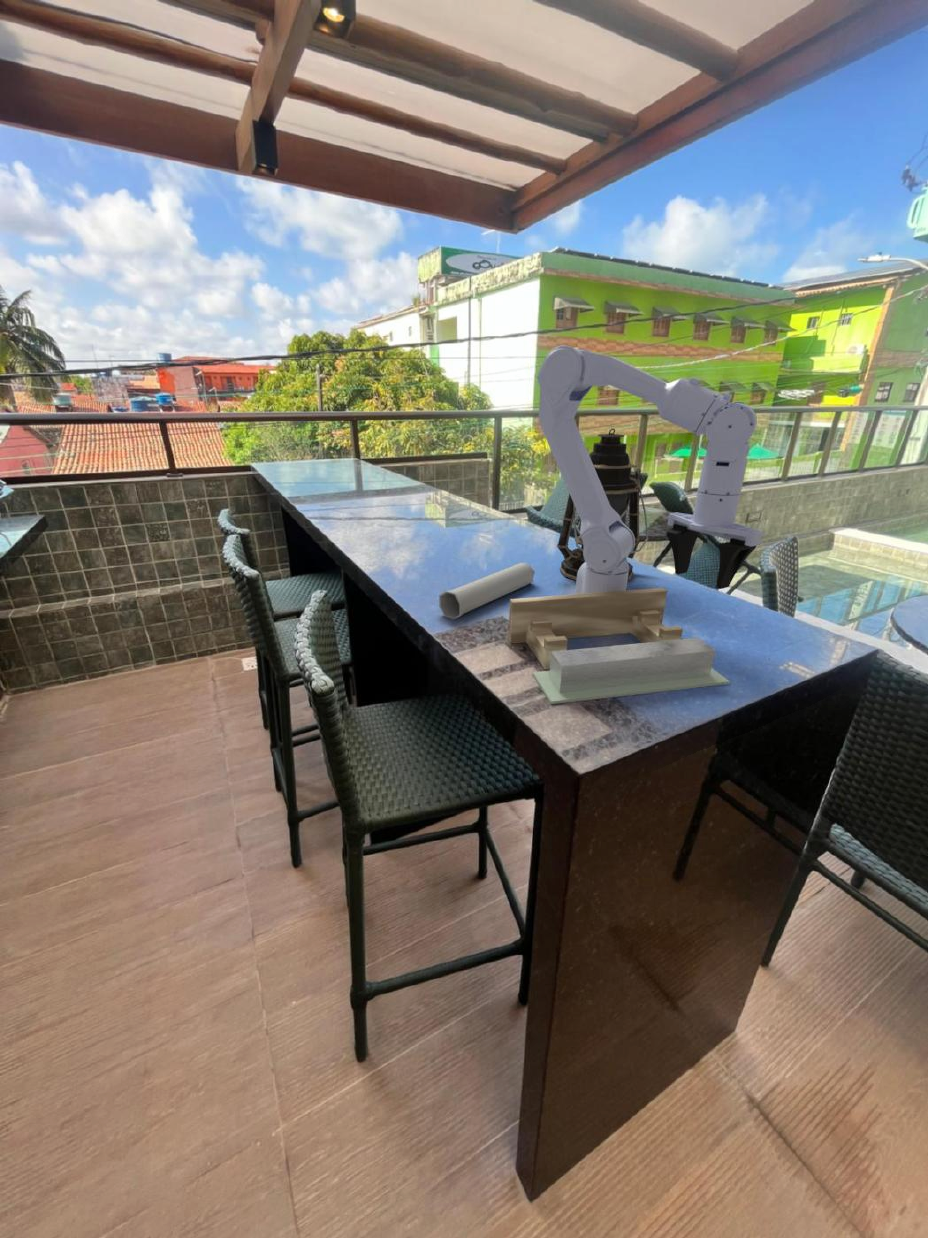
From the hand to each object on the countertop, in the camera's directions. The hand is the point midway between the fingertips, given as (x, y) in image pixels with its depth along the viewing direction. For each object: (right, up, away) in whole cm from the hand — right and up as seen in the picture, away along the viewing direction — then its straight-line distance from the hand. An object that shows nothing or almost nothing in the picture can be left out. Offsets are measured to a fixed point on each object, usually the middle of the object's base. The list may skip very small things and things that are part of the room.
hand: (701, 579), depth 80 cm
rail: (-14, -14, -10) cm, 22 cm away
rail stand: (-16, -11, 0) cm, 19 cm away
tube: (-32, -2, +19) cm, 37 cm away
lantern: (-8, +4, +32) cm, 33 cm away
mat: (-14, -15, -10) cm, 23 cm away
